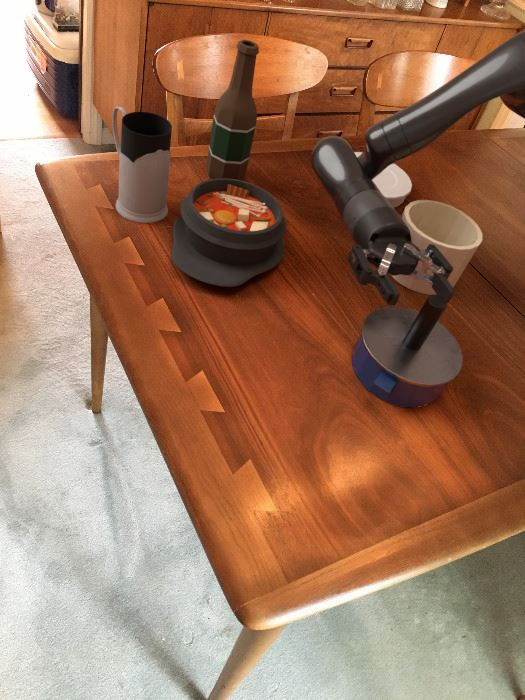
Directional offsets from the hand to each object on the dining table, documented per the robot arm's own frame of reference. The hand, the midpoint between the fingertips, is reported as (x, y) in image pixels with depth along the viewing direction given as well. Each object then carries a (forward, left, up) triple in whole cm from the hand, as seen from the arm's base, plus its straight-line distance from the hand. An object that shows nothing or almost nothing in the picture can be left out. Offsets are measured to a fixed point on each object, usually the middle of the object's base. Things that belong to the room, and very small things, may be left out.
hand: (422, 299), depth 74 cm
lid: (+26, -42, -12) cm, 51 cm away
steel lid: (-2, +2, -7) cm, 7 cm away
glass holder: (+51, 0, -12) cm, 53 cm away
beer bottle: (+46, -20, -12) cm, 52 cm away
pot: (+5, -24, -12) cm, 28 cm away
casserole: (+32, -2, -12) cm, 34 cm away
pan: (-2, +2, -12) cm, 12 cm away
